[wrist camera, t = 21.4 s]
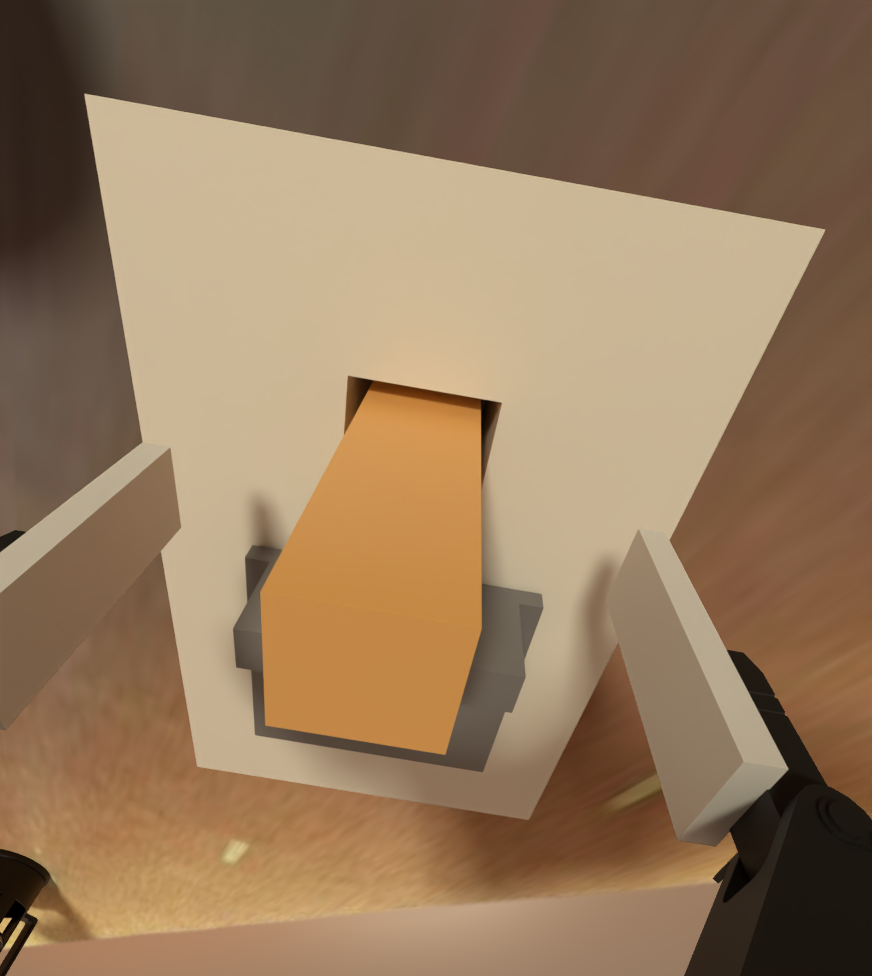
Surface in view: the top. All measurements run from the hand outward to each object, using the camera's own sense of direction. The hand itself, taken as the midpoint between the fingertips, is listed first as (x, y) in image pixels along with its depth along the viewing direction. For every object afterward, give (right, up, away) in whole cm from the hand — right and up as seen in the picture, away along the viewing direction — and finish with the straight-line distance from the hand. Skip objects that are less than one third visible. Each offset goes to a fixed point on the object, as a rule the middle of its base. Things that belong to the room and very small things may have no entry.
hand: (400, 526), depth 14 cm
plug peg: (+1, +5, +9) cm, 11 cm away
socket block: (0, 0, +14) cm, 14 cm away
